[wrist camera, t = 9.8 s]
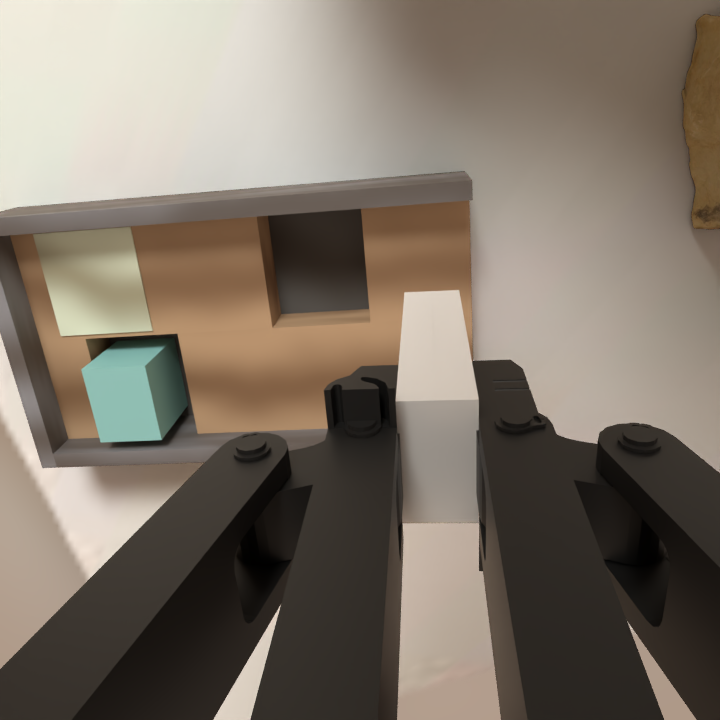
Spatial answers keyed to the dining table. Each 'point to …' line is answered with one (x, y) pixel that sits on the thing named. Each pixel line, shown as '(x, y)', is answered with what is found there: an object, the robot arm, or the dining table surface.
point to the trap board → (223, 302)
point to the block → (136, 390)
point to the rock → (704, 122)
